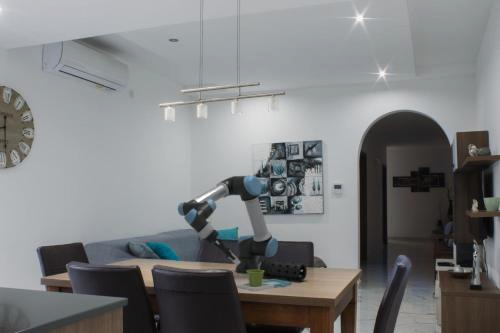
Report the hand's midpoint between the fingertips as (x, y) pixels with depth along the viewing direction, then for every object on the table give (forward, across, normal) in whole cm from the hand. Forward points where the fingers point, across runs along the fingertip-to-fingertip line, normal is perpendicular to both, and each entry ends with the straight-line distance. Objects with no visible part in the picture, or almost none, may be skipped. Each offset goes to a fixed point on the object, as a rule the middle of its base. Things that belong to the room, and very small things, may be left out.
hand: (237, 262), depth 264 cm
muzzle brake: (+29, -24, +10) cm, 39 cm away
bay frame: (+20, -4, +1) cm, 20 cm away
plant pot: (+16, 0, -3) cm, 17 cm away
